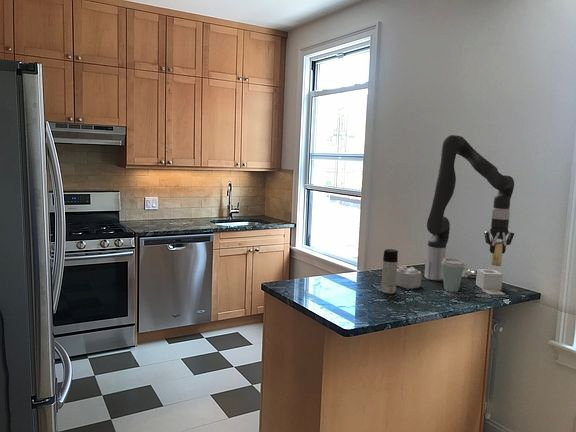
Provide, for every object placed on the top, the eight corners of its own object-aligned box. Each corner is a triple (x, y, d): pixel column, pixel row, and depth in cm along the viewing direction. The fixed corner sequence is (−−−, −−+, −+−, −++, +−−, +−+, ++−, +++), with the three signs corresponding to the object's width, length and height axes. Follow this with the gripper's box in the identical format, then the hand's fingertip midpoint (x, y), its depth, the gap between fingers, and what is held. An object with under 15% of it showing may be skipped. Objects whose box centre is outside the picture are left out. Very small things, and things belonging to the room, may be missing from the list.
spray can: (396, 291, 227) (399, 249, 224) (393, 294, 221) (396, 252, 218) (383, 289, 230) (385, 248, 227) (379, 292, 224) (382, 250, 221)
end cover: (493, 265, 226) (495, 243, 225) (489, 263, 231) (491, 241, 229) (502, 266, 226) (504, 243, 225) (498, 264, 231) (500, 241, 229)
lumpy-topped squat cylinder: (409, 289, 231) (410, 271, 230) (388, 282, 241) (390, 266, 240) (423, 286, 237) (424, 269, 236) (402, 280, 248) (403, 263, 246)
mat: (488, 294, 227) (488, 293, 227) (482, 290, 234) (482, 289, 233) (505, 295, 227) (505, 294, 227) (498, 290, 234) (498, 290, 234)
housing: (483, 289, 235) (484, 273, 234) (475, 284, 244) (477, 269, 243) (501, 290, 235) (502, 274, 234) (493, 285, 244) (494, 269, 243)
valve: (456, 276, 261) (475, 281, 250) (457, 264, 260) (476, 269, 249) (465, 275, 264) (483, 280, 253) (466, 263, 263) (484, 268, 253)
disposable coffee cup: (466, 290, 232) (468, 260, 230) (456, 294, 224) (459, 263, 222) (445, 285, 239) (447, 256, 237) (435, 289, 231) (438, 259, 229)
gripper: (511, 217, 229) (508, 252, 232) (482, 216, 229) (479, 251, 231) (519, 219, 222) (515, 255, 224) (488, 218, 222) (485, 254, 224)
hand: (497, 253), depth 228 cm, fingers closed on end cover, 4 cm apart
